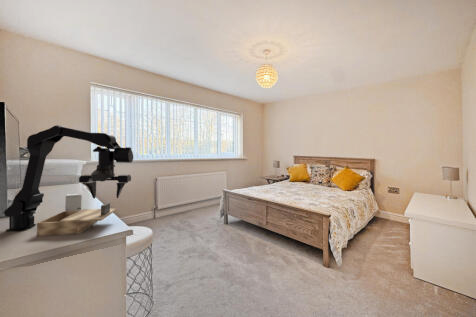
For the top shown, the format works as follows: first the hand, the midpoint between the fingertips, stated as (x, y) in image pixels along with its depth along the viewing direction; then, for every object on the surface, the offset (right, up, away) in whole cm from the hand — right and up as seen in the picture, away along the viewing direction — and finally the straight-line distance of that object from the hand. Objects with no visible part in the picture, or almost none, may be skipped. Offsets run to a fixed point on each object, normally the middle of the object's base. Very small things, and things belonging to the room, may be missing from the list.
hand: (106, 198), depth 90 cm
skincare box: (-21, -12, +8) cm, 25 cm away
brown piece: (-14, -12, -2) cm, 18 cm away
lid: (-6, -7, -1) cm, 9 cm away
